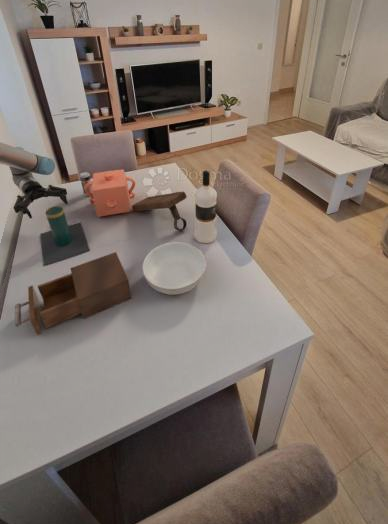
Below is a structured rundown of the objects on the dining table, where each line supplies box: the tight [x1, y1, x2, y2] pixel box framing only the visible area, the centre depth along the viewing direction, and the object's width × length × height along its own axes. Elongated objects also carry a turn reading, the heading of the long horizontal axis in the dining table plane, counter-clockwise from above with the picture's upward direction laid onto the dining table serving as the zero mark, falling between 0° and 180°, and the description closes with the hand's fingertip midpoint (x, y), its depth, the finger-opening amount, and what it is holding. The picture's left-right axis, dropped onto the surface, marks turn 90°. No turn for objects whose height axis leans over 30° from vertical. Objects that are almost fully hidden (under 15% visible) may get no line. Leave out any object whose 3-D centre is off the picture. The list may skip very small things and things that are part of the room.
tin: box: [44, 205, 72, 247], centre depth 107 cm, size 6×6×15 cm
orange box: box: [84, 169, 136, 218], centre depth 125 cm, size 25×23×18 cm
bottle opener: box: [131, 191, 188, 232], centre depth 122 cm, size 10×16×30 cm
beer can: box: [79, 171, 93, 197], centre depth 139 cm, size 5×5×12 cm
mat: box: [39, 221, 90, 267], centre depth 110 cm, size 20×16×1 cm
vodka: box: [193, 170, 218, 244], centre depth 105 cm, size 9×9×30 cm
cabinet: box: [70, 251, 132, 320], centre depth 87 cm, size 15×14×9 cm
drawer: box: [14, 273, 82, 336], centre depth 81 cm, size 18×12×7 cm
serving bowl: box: [142, 241, 207, 296], centre depth 93 cm, size 21×21×7 cm
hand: (48, 208), depth 108 cm, fingers open, 13 cm apart
